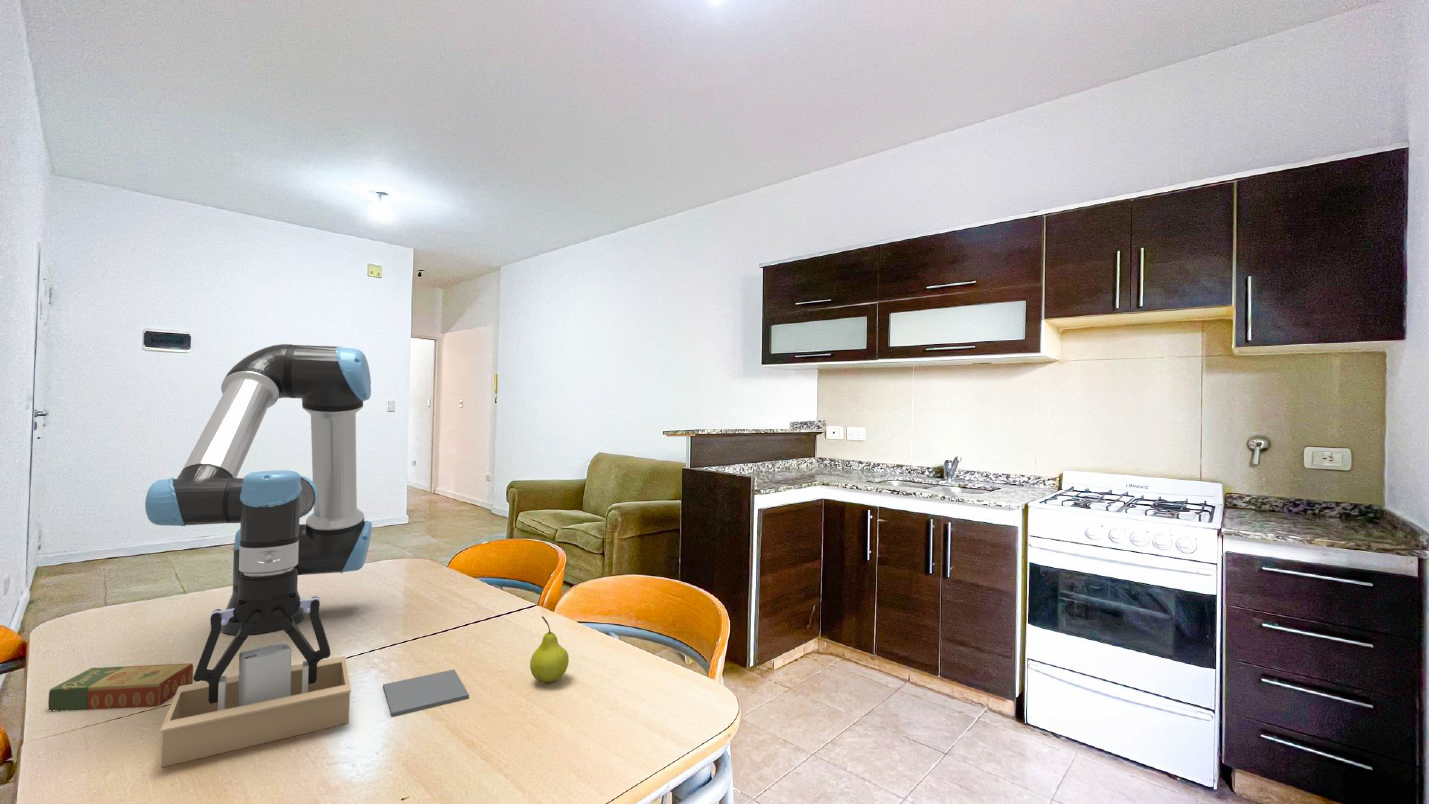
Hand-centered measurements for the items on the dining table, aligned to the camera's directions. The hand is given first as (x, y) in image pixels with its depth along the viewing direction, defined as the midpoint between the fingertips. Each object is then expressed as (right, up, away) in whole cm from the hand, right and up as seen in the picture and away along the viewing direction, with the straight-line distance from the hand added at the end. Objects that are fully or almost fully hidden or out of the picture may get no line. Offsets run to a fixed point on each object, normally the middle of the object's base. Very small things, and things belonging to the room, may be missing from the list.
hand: (264, 712), depth 94 cm
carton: (-30, -2, +8) cm, 31 cm away
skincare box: (0, -2, 0) cm, 2 cm away
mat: (+19, -3, +12) cm, 23 cm away
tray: (0, -2, 0) cm, 2 cm away
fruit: (+40, -4, +18) cm, 44 cm away
